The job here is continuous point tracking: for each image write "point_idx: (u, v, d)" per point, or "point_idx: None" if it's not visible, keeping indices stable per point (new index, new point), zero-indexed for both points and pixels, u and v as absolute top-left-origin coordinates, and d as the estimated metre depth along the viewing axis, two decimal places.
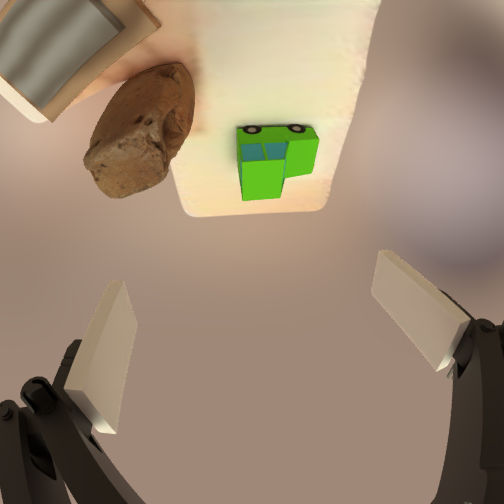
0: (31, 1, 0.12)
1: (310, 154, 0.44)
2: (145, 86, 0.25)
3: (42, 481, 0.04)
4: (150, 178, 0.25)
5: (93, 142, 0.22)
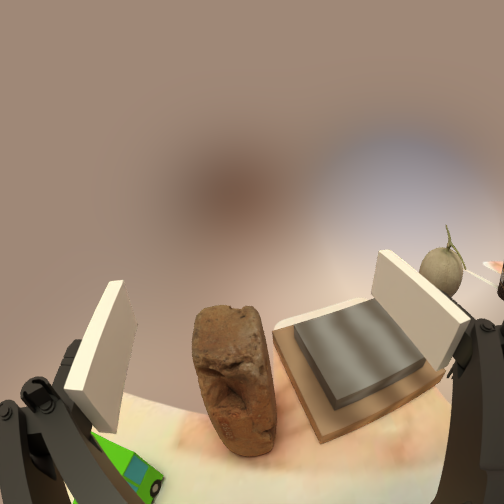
0: (398, 339, 0.37)
1: None
2: None
3: (42, 481, 0.04)
4: (203, 343, 0.24)
5: None
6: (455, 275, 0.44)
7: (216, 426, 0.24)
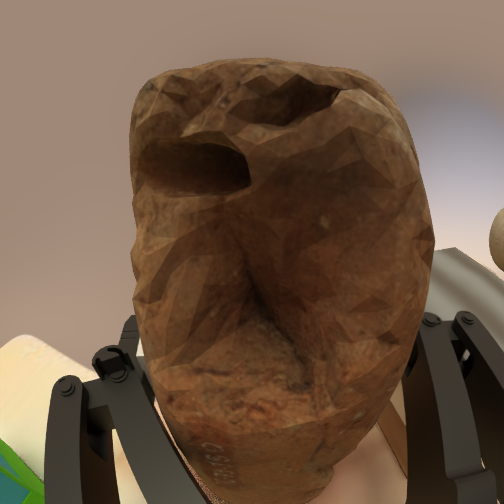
0: None
1: None
2: None
3: (94, 463, 0.05)
4: None
5: None
6: None
7: (182, 447, 0.06)
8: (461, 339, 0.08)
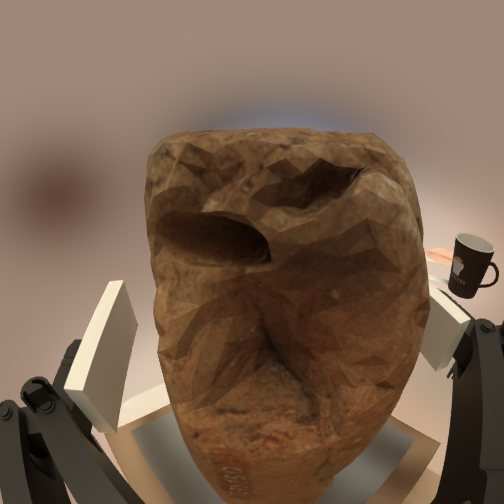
0: None
1: None
2: None
3: (42, 481, 0.04)
4: None
5: None
6: None
7: (203, 469, 0.07)
8: None
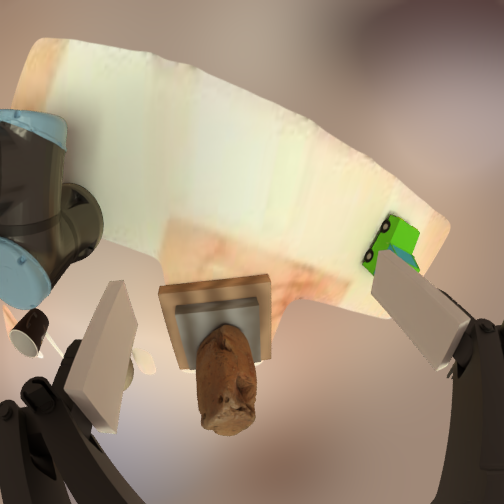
0: (191, 333, 0.52)
1: (407, 229, 0.52)
2: (212, 364, 0.44)
3: (42, 481, 0.04)
4: (246, 423, 0.37)
5: (202, 414, 0.38)
6: None
7: (255, 370, 0.44)
8: None
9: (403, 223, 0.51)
